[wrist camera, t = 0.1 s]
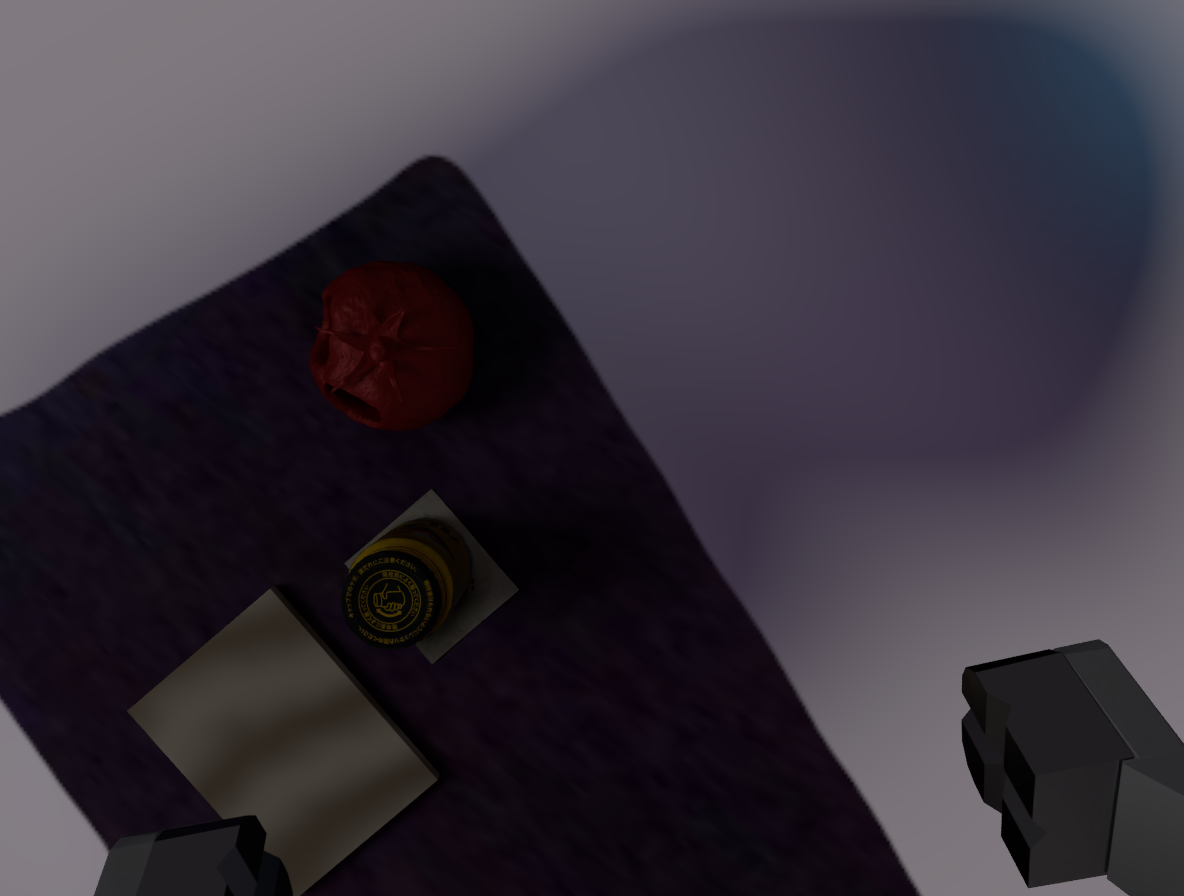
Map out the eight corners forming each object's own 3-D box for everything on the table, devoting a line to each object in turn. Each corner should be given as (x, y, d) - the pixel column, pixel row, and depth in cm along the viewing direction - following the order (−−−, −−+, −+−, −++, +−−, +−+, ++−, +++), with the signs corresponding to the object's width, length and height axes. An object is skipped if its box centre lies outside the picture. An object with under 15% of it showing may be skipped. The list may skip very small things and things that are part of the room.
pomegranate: (450, 248, 66) (429, 222, 56) (504, 399, 66) (492, 398, 57) (300, 301, 66) (255, 284, 56) (355, 452, 66) (320, 459, 57)
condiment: (431, 488, 66) (396, 510, 54) (519, 589, 67) (503, 633, 55) (345, 562, 67) (290, 601, 55) (432, 662, 67) (397, 723, 55)
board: (439, 774, 67) (437, 779, 66) (299, 892, 68) (294, 899, 67) (274, 585, 67) (270, 588, 66) (134, 706, 67) (127, 711, 66)
